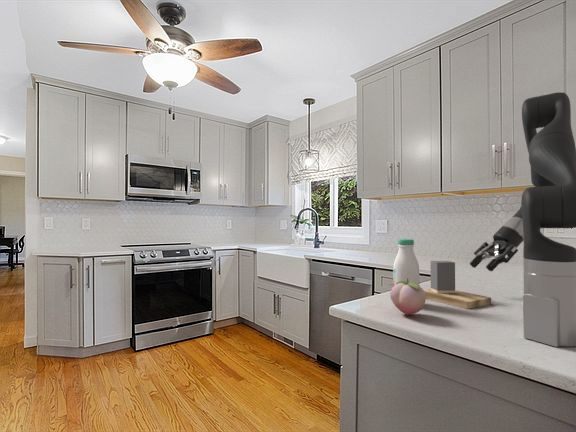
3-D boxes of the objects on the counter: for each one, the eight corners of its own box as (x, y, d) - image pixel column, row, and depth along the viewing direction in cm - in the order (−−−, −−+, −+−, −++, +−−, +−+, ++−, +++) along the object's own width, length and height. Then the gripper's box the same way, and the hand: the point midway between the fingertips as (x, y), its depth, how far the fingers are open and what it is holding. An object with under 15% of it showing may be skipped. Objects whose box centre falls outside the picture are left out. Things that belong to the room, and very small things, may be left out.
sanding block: (447, 290, 110) (447, 260, 111) (455, 292, 106) (455, 262, 106) (430, 290, 110) (430, 260, 110) (437, 293, 106) (437, 262, 106)
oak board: (467, 309, 94) (467, 301, 94) (418, 296, 109) (418, 290, 109) (491, 304, 100) (491, 297, 100) (442, 293, 115) (442, 287, 115)
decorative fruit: (433, 317, 86) (433, 279, 86) (412, 322, 82) (412, 282, 82) (405, 309, 94) (405, 274, 94) (384, 312, 90) (384, 276, 90)
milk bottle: (424, 304, 99) (424, 239, 99) (409, 308, 95) (409, 240, 95) (403, 299, 105) (403, 238, 106) (387, 302, 101) (387, 239, 101)
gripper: (490, 225, 116) (459, 257, 115) (521, 225, 101) (486, 262, 100) (504, 240, 116) (474, 272, 115) (537, 242, 101) (502, 279, 101)
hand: (479, 267), depth 108 cm, fingers open, 8 cm apart
